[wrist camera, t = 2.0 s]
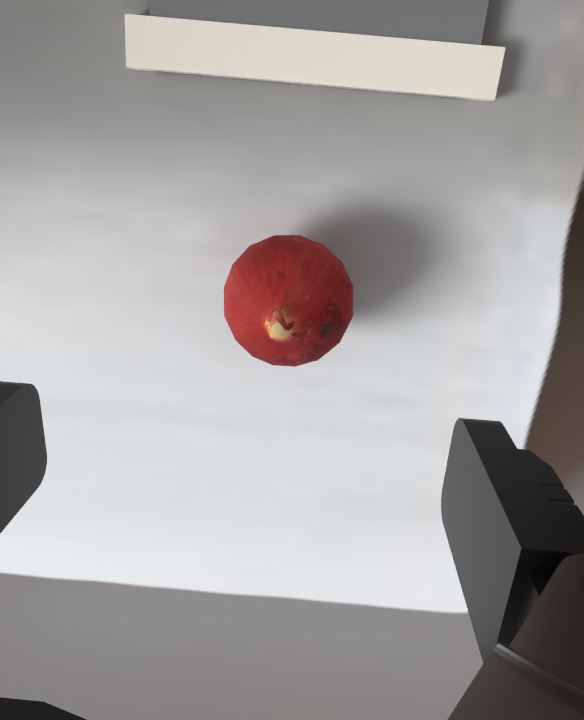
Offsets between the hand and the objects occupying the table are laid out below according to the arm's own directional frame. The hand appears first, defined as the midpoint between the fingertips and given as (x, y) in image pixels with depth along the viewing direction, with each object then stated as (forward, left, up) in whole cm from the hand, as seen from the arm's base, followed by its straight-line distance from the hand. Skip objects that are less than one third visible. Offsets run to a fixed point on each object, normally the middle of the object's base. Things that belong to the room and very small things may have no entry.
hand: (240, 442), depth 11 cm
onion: (-1, -1, -19) cm, 19 cm away
